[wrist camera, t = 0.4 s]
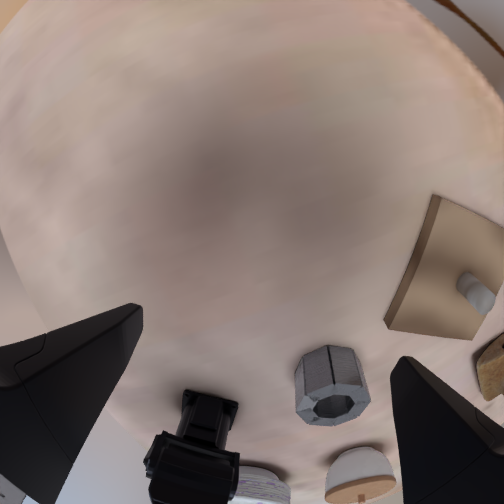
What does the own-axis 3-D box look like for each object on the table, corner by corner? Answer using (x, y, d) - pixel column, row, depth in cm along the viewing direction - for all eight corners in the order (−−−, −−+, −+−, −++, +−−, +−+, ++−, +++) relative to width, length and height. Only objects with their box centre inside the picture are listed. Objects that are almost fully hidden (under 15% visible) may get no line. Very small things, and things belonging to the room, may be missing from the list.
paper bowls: (209, 450, 35) (199, 491, 27) (303, 464, 34) (303, 504, 27) (203, 478, 40) (195, 509, 33) (278, 490, 40) (275, 521, 33)
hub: (343, 392, 27) (349, 427, 22) (289, 385, 27) (288, 422, 22) (369, 350, 24) (381, 387, 20) (308, 341, 24) (312, 380, 20)
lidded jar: (329, 443, 31) (333, 498, 22) (397, 434, 30) (409, 483, 21) (318, 470, 35) (319, 514, 26) (377, 463, 34) (383, 505, 25)
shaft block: (466, 332, 23) (488, 363, 18) (383, 319, 23) (402, 359, 18) (511, 233, 18) (544, 252, 13) (432, 194, 19) (471, 210, 13)
